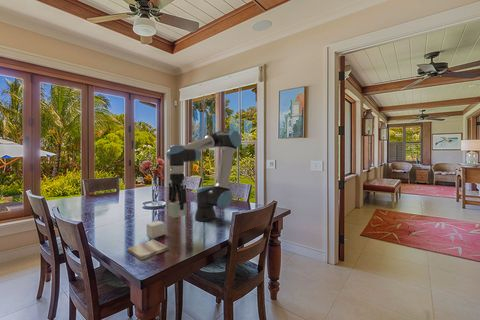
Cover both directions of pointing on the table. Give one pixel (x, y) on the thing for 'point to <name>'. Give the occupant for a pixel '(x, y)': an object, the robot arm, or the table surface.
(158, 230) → the cream brick
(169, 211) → the sage brick
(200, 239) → the table surface
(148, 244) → the base plate
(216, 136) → the robot arm
